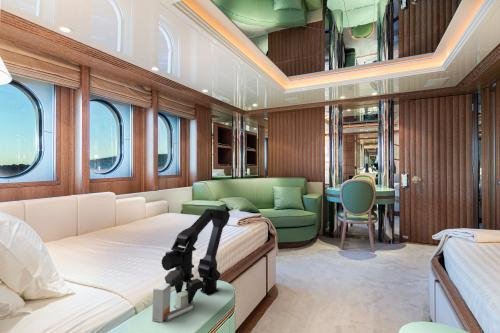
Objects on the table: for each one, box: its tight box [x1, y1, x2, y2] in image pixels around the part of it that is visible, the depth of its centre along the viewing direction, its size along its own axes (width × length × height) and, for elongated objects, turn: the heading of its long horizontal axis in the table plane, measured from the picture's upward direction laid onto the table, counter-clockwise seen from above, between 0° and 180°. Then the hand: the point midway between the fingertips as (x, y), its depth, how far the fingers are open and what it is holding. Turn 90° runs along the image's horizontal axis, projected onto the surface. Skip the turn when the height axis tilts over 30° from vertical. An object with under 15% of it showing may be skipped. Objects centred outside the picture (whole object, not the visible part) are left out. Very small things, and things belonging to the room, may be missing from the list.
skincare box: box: [151, 282, 172, 323], centre depth 99 cm, size 6×4×12 cm
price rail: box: [164, 302, 195, 322], centre depth 101 cm, size 12×1×2 cm, turn 138°
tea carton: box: [174, 289, 194, 308], centre depth 108 cm, size 4×6×5 cm
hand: (184, 300), depth 108 cm, fingers open, 8 cm apart
